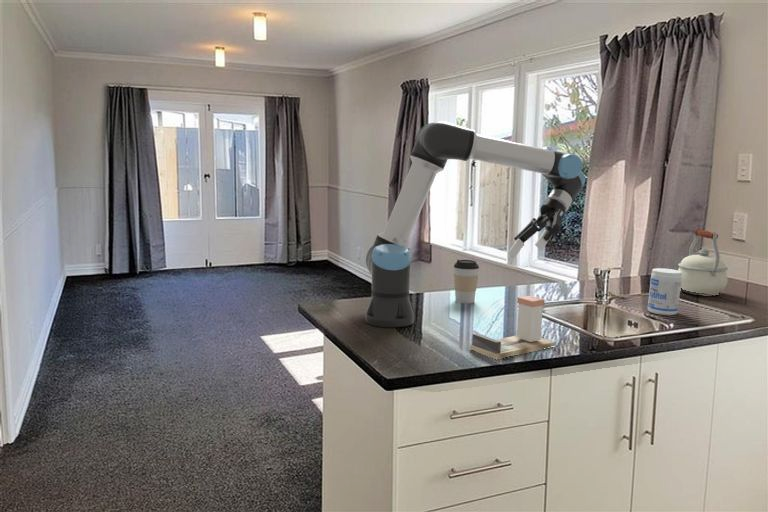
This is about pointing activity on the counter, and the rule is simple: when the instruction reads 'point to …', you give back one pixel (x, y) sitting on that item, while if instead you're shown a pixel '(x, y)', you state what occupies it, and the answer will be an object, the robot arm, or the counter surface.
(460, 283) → the coffee cup
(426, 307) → the counter surface
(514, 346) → the board
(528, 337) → the block
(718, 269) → the kettle
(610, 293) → the tongs
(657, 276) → the supplement tub
